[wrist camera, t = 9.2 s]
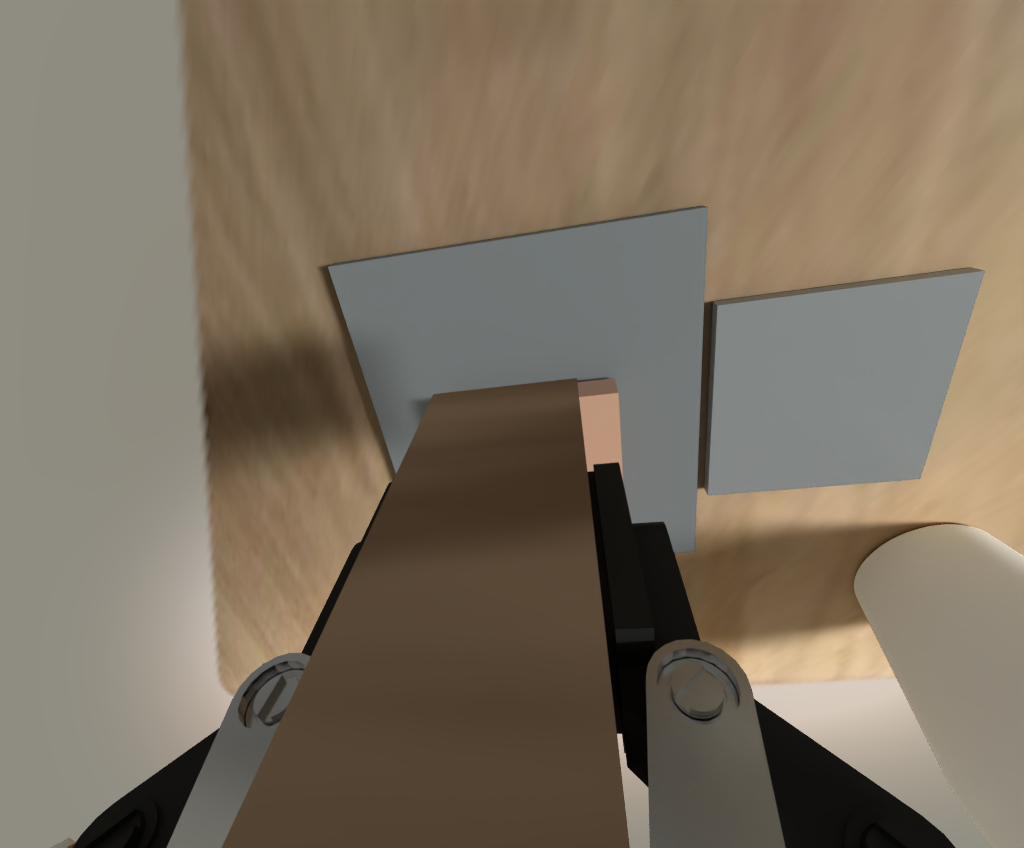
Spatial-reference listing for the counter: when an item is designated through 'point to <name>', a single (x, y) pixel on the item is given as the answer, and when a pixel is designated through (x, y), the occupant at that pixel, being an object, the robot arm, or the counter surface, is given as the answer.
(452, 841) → the bar
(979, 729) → the cup
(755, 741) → the robot arm
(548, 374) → the mat
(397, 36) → the counter surface
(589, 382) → the tile
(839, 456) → the coaster
